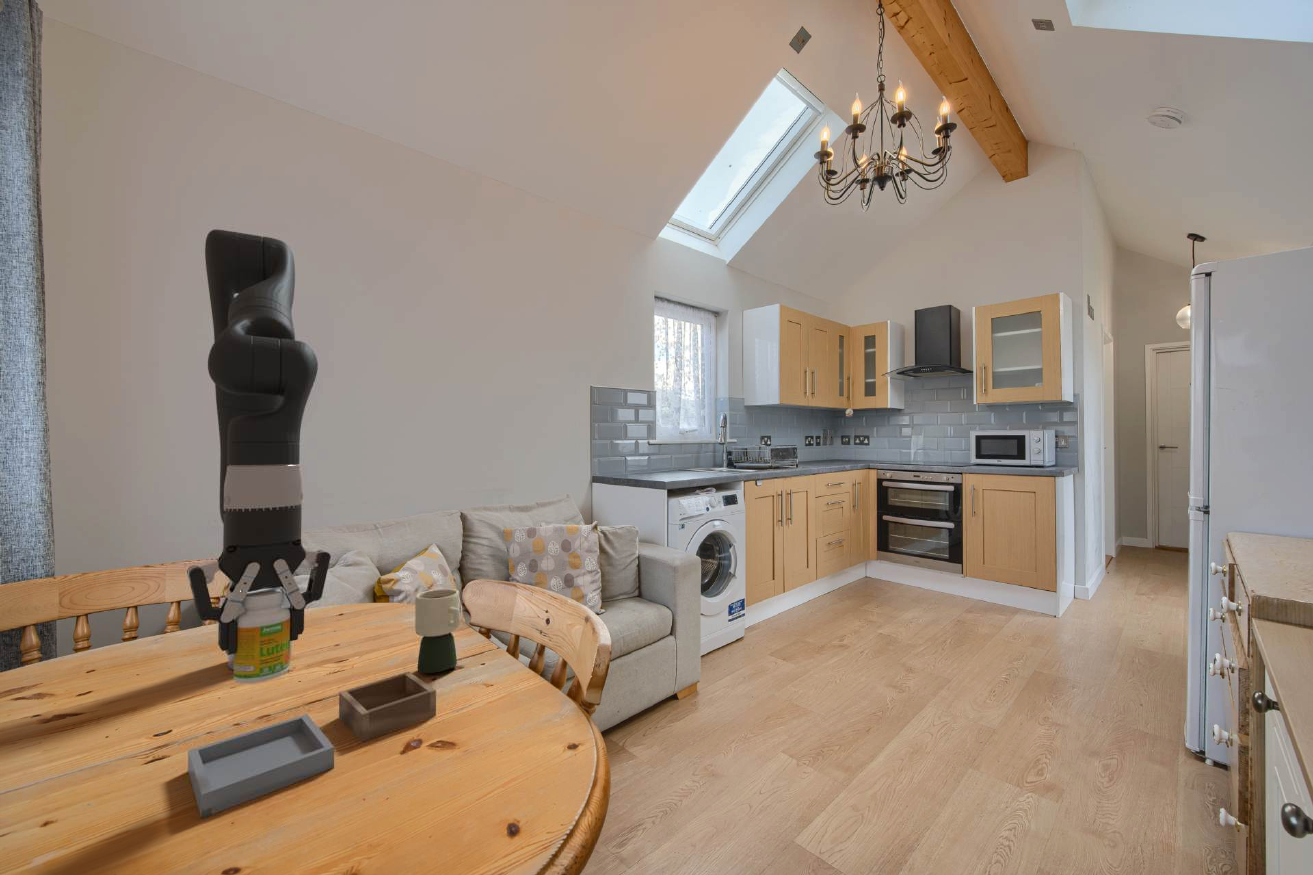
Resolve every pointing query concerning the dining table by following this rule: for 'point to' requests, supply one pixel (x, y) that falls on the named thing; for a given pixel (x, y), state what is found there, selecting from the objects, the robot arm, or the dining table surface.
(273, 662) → the supplement bottle
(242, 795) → the tray
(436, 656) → the character mug
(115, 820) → the dining table surface
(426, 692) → the holder
